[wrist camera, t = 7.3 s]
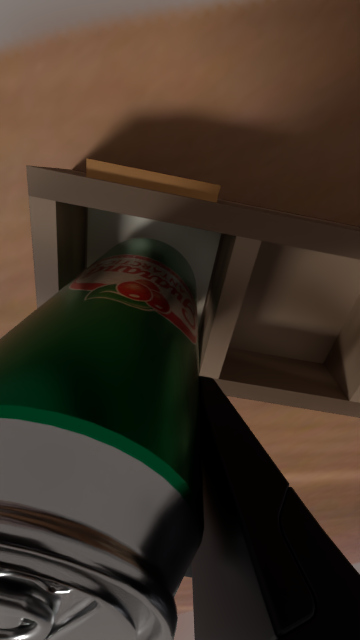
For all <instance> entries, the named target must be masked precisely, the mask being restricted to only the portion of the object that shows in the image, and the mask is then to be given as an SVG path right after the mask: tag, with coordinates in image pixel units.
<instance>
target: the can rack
mask: <svg viewBox="0 0 360 640" xmlns="http://www.w3.org/2000/svg"><path fill="white" fill-rule="evenodd" d="M26 168H27V181H28V194H29V207H30V220H31V233H32V246H33V259H34V272H35V285H36V298H37V308H39V307H40V306H41V305H42V304H44V303H45V302H46V301H47V300H48V299H50V298H51V297H52V296H53V295H55V294H56V293H57V292H58V291H59V290H61V289H62V288H63V287H64V286H66V285H67V284H68V283H69V282H70V281H72V280H73V279H74V278H75V277H77V276H78V275H79V274H80V273H82V272H83V271H84V270H85V269H86V268H88V267H89V266H90V265H91V264H93V263H94V262H95V261H96V260H97V259H99V258H100V257H101V256H102V255H104V254H105V253H106V252H107V251H109V250H110V249H111V248H112V247H114V246H115V245H117V244H119V243H121V242H123V241H126V240H129V239H134V238H150V239H155V240H159V241H161V242H164V243H166V244H168V245H170V246H171V247H173V248H175V249H176V250H177V251H178V252H179V253H181V254H182V256H183V257H184V258H185V259H186V260H187V262H188V263H189V265H190V266H191V268H192V271H193V273H194V276H195V280H196V289H197V318H198V349H199V376H205V377H211V378H213V379H214V380H215V381H216V383H217V384H218V386H219V387H220V388H221V390H222V391H223V392H224V394H225V395H226V396H231V397H237V398H243V399H249V400H256V401H262V402H268V403H274V404H280V405H286V406H292V407H298V408H304V409H310V410H316V411H322V412H328V413H335V414H341V415H347V416H353V417H359V418H360V227H357V226H352V225H347V224H342V223H337V222H332V221H327V220H322V219H317V218H312V217H307V216H302V215H297V214H292V213H287V212H281V211H276V210H271V209H266V208H261V207H256V206H251V205H246V204H241V203H236V202H231V201H226V200H221V199H218V195H219V191H220V186H221V185H216V184H211V183H206V182H201V181H196V180H191V179H186V178H181V177H176V176H171V175H166V174H162V173H157V172H152V171H147V170H142V169H137V168H132V167H127V166H122V165H117V164H112V163H107V162H102V161H97V160H92V159H87V158H86V173H85V172H80V171H75V170H70V169H59V168H48V167H37V166H26Z"/></svg>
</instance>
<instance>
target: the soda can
mask: <svg viewBox="0 0 360 640" xmlns="http://www.w3.org/2000/svg"><path fill="white" fill-rule="evenodd" d="M203 532H204V503H203V472H202V441H201V414H200V384H199V349H198V318H197V289H196V280H195V276H194V273H193V271H192V268H191V266H190V265H189V263H188V262H187V260H186V259H185V258H184V257H183V256H182V254H181V253H179V252H178V251H177V250H176V249H175V248H173V247H171V246H170V245H168V244H166V243H164V242H161V241H159V240H155V239H150V238H134V239H129V240H126V241H123V242H121V243H119V244H117V245H115V246H114V247H112V248H111V249H110V250H109V251H107V252H106V253H105V254H104V255H102V256H101V257H100V258H99V259H97V260H96V261H95V262H94V263H93V264H91V265H90V266H89V267H88V268H86V269H85V270H84V271H83V272H82V273H80V274H79V275H78V276H77V277H75V278H74V279H73V280H72V281H70V282H69V283H68V284H67V285H66V286H64V287H63V288H62V289H61V290H59V291H58V292H57V293H56V294H55V295H53V296H52V297H51V298H50V299H48V300H47V301H46V302H45V303H44V304H42V305H41V306H40V307H39V308H37V309H36V310H35V311H34V312H32V313H31V314H30V315H29V316H28V317H26V318H25V319H24V320H23V321H21V322H20V323H19V324H18V325H17V326H15V327H14V328H13V329H12V330H10V331H9V332H8V333H7V334H6V335H4V336H3V337H2V338H1V339H0V640H174V636H175V631H176V626H177V608H176V604H175V600H174V596H175V594H176V592H177V590H178V588H179V586H180V583H181V581H182V579H183V577H184V575H185V573H186V572H187V570H188V568H189V566H190V564H191V562H192V560H193V558H194V556H195V554H196V552H197V550H198V548H199V547H200V545H201V542H202V538H203Z"/></svg>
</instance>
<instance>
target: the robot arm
mask: <svg viewBox="0 0 360 640" xmlns="http://www.w3.org/2000/svg"><path fill="white" fill-rule="evenodd" d="M199 384H200V414H201V441H202V472H203V503H204V532H203V538H202V542H201V545H200V547H199V548H198V550H197V552H196V554H195V556H194V558H193V560H192V584H193V609H194V633H195V640H360V574H359V573H358V572H357V571H356V570H355V568H354V567H353V566H352V565H351V563H350V562H349V561H348V560H347V559H346V557H345V556H344V555H343V554H342V552H341V551H340V550H339V549H338V547H337V546H336V545H335V544H334V542H333V541H332V540H331V539H330V537H329V536H328V535H327V534H326V533H325V531H324V530H323V529H322V527H321V526H320V525H319V523H318V522H317V521H316V519H315V518H314V517H313V515H312V514H311V513H310V511H309V510H308V509H307V507H306V506H305V505H304V503H303V502H302V501H301V499H300V498H299V496H298V495H297V494H296V492H295V491H294V489H293V488H292V487H289V483H288V481H287V480H286V479H285V477H284V476H283V474H282V473H281V472H280V470H279V469H278V467H277V466H276V465H275V463H274V462H273V460H272V459H271V458H270V456H269V455H268V454H267V452H266V451H265V449H264V448H263V447H262V445H261V444H260V442H259V441H258V440H257V438H256V437H255V436H254V434H253V433H252V431H251V430H250V429H249V427H248V426H247V424H246V423H245V422H244V420H243V419H242V417H241V416H240V415H239V413H238V412H237V411H236V409H235V408H234V406H233V405H232V404H231V402H230V401H229V399H228V398H227V397H226V395H225V394H224V392H223V391H222V390H221V388H220V387H219V386H218V384H217V383H216V381H215V380H214V379H213V378H211V377H205V376H199Z"/></svg>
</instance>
